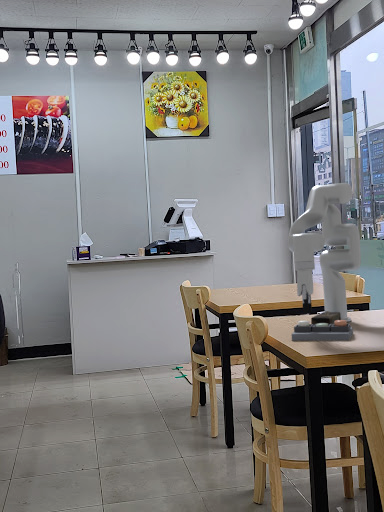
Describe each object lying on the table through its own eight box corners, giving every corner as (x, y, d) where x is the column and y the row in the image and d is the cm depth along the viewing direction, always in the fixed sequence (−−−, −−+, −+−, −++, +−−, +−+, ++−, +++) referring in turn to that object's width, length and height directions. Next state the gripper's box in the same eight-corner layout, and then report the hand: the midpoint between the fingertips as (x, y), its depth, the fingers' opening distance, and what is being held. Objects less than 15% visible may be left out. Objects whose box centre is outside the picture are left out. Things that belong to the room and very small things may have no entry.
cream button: (299, 325, 247) (298, 320, 247) (310, 325, 245) (310, 320, 245) (297, 327, 243) (296, 322, 242) (308, 327, 241) (308, 322, 241)
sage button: (317, 328, 244) (317, 323, 244) (328, 328, 243) (328, 323, 243) (315, 330, 240) (315, 325, 240) (327, 330, 239) (326, 324, 238)
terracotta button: (335, 325, 242) (335, 320, 242) (347, 325, 240) (347, 319, 240) (334, 327, 238) (333, 321, 238) (346, 327, 236) (345, 321, 236)
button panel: (298, 334, 252) (298, 322, 252) (352, 333, 244) (352, 322, 244) (291, 340, 239) (291, 328, 238) (348, 340, 231) (348, 328, 231)
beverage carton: (342, 325, 266) (341, 310, 266) (330, 333, 249) (329, 317, 249) (323, 325, 270) (322, 310, 270) (310, 333, 253) (309, 317, 252)
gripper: (298, 265, 251) (300, 311, 251) (291, 267, 236) (294, 316, 237) (317, 264, 248) (320, 310, 249) (311, 267, 234) (314, 316, 235)
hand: (307, 313), depth 243 cm, fingers closed
